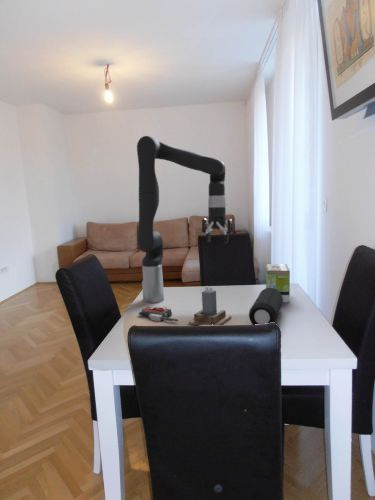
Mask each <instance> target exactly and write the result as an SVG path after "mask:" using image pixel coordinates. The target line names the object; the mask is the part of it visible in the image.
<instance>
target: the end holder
mask: <svg viewBox="0 0 375 500" xmlns="http://www.w3.org/2000/svg"><path fill="white" fill-rule="evenodd" d="M230 318H231V319H232V315H229V314H226V310H225V309H222V310H220V311H217V314H215V315H214V316H210V315H204V314H203V308H201V310H199V311H198V312H195V313H194V314H193V318H192V319H190V320H189V321H187V324H188V325H191V326H196V325H212V324H213V325H221V326H222V325H224V324H225V323H226V321H227V320H228V321H229V320H230ZM228 321H227V322H228ZM224 322H225V323H224ZM223 323H224V324H223Z"/></svg>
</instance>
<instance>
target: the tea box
mask: <svg viewBox="0 0 375 500" xmlns="http://www.w3.org/2000/svg"><path fill="white" fill-rule="evenodd" d="M290 278H291V270H290V268H289V267H288V264H287V263H275V264H274V263H267V264H266V265H265V289H266V288H274V289H276V290H278V291H279V292H280V293H281V295H282V297H283V303H290V297H291V296H290V295H291V292H290V291H291V288H290V287H291V286H290V285H291V283H290V282H291V281H290V280H291V279H290Z"/></svg>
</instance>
